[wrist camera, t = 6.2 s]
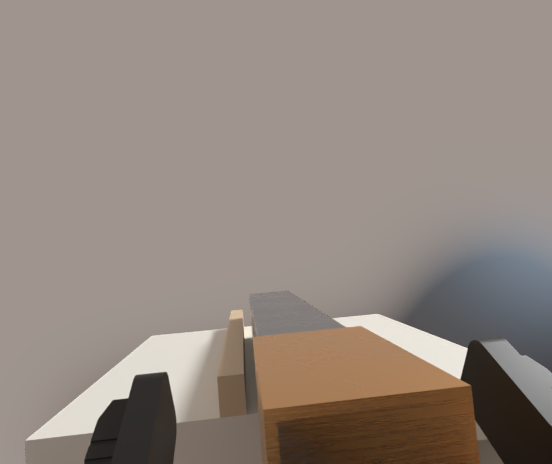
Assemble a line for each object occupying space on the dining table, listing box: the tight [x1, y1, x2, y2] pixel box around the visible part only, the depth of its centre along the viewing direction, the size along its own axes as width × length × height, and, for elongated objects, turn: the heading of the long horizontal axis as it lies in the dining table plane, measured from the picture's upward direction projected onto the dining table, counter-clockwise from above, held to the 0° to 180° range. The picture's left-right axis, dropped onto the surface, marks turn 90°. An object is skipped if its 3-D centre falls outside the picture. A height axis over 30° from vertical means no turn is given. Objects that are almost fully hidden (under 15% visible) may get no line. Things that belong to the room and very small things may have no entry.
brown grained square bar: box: [249, 291, 480, 464], centre depth 18 cm, size 3×24×3 cm, turn 5°
